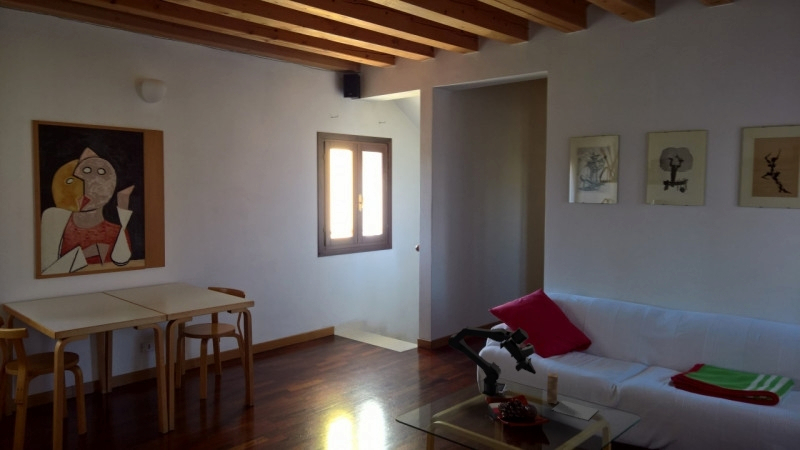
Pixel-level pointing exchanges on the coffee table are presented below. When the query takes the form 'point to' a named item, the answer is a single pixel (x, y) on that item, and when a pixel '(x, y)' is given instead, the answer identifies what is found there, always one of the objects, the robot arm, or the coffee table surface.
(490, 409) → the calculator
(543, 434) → the coffee table surface
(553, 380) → the block
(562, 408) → the mat
